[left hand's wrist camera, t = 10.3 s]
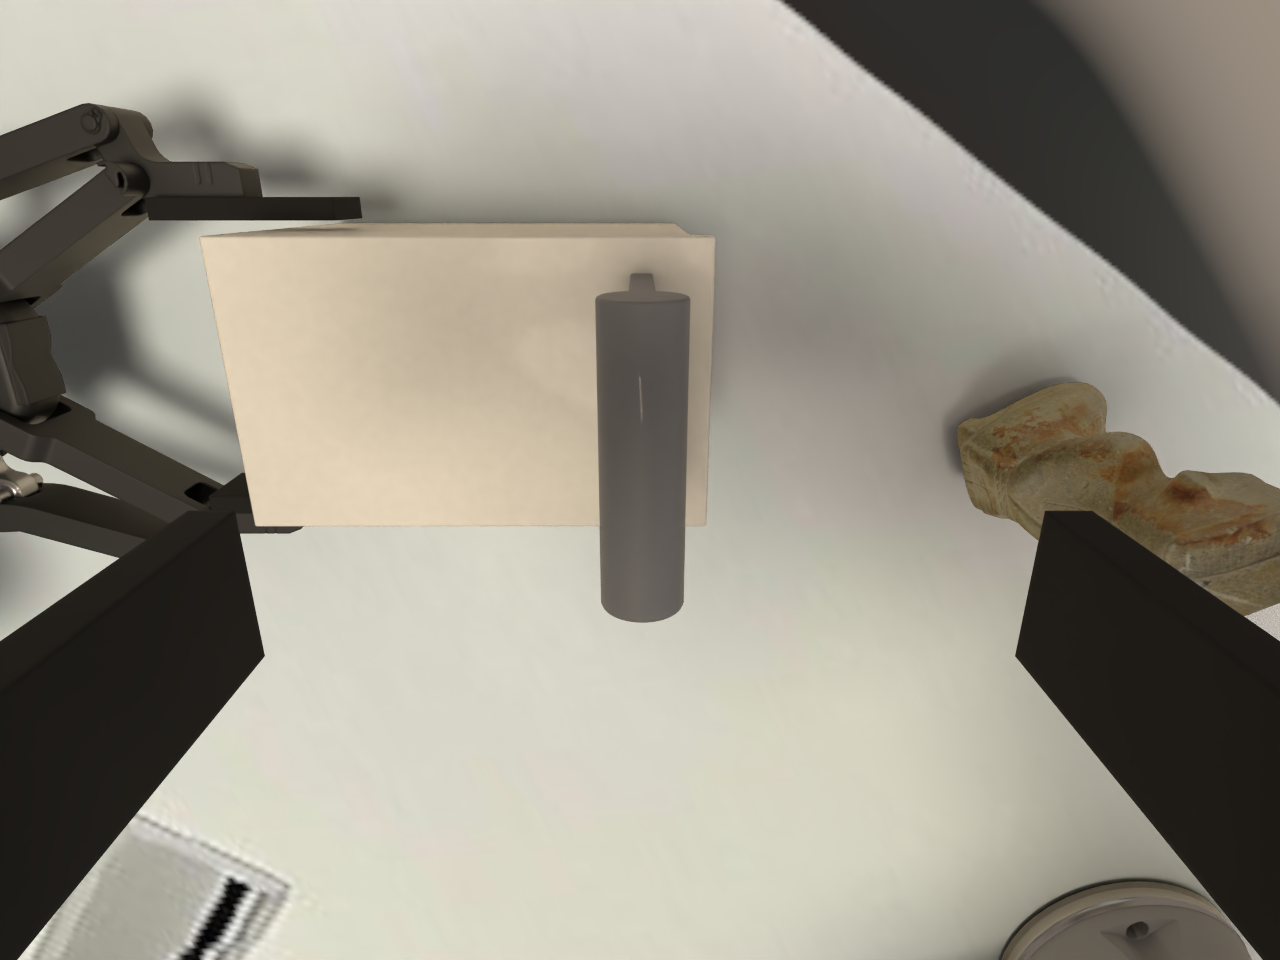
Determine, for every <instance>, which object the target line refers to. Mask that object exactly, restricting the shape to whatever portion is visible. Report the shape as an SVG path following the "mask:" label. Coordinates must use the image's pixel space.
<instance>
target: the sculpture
mask: <svg viewBox="0 0 1280 960" xmlns="http://www.w3.org/2000/svg"><path fill="white" fill-rule="evenodd" d="M1106 413H1107V406H1106V401H1105V398H1104V396H1103V395H1102V393H1101V392H1100V391H1099V390H1097V389H1096V388H1095V387H1093V386H1092V385H1089V384H1086V383H1079V382H1073V383H1062V384H1057V385H1054V386H1050V387H1047V388H1045V389H1042V390H1040V391H1038V392H1035V393H1033V394H1031V395H1029V396H1027V397H1025V398H1023V399H1021V400H1019V401H1017V402H1015V403H1013V404H1011V405H1009V406H1007V407H1006V408H1004V409H1002V410H1000V411H998V412H996V413H994V414H992V415H989V416H987V417H984V418H980V419H978V418H970V419H968V420H966V421H964V422H962V423H961V424H960V425H959V426H958V428H957V440H958V446H959V450H960V451H961V452H960V453H961V462H962V467H963V473H964V478H965V483H966V487H967V490H968V493H969V496H970V499H971V501H972V503H973V505H974V506H975V507H976V508H978V509H980V510H982V511H983V512H984V513H986V514H989V515H992V516H995V517H999V518H1006V519H1011V520H1013V521H1015V522H1017V523H1019V524H1020V525H1021V526H1022V527H1023V528H1024V529H1025V530H1026V531H1027V532H1028V533H1030V534H1031V535H1032V536H1033V537H1035V538H1036V539H1037V540H1038V541H1039V537H1040V532H1041V527H1042V522H1043V517H1044V512H1045V511H1093V512H1095V513H1096V514H1098V515H1099V516H1100V517H1102V518H1103V519H1105V520H1106V521H1108V522H1109V523H1111V524H1112V525H1113V526H1115V527H1116V528H1118V529H1119V530H1121V531H1122V532H1123V533H1125V534H1126V535H1128V536H1129V537H1131V538H1132V539H1134V540H1135V541H1136V542H1138V543H1139V544H1141V545H1142V546H1144V547H1145V548H1146V549H1148V550H1149V551H1151V552H1152V553H1154V554H1155V555H1156V556H1158V557H1159V558H1161V559H1162V560H1164V561H1165V562H1167V563H1168V564H1169V565H1171V566H1172V567H1174V568H1175V569H1177V570H1178V571H1179V572H1181V573H1182V574H1184V575H1185V576H1187V577H1188V578H1189V579H1191V580H1192V581H1194V582H1195V583H1197V584H1198V585H1200V586H1201V587H1202V588H1204V589H1205V590H1207V591H1208V592H1210V593H1211V594H1212V595H1214V596H1215V597H1217V598H1218V599H1220V600H1221V601H1223V602H1224V603H1225V604H1227V605H1228V606H1230V607H1231V608H1233V609H1234V610H1235V611H1237V612H1238V613H1240V614H1241V615H1243V616H1247V615H1249V614H1252V613H1254V612H1257V611H1260V610H1262V609H1265V608H1267V607H1270V606H1273V605H1275V604H1278V603H1280V489H1279V488H1276V487H1274V486H1271V485H1269V484H1267V483H1265V482H1264V481H1262V480H1261V479H1259V478H1257V477H1256V476H1254V475H1252V474H1246V473H1212V474H1211V473H1205V472H1198V471H1188V470H1186V471H1182V472H1180V473H1179V474H1178V475H1177V476H1176V477H1175V478H1168V477H1166V475H1165V474H1164V473H1163V472H1162V469H1161V467H1160V465H1159V462H1158V460H1157V457H1156V454H1155V452H1154V451H1153V449H1152V448H1151V446H1150V445H1149V444H1148V443H1147V442H1146V441H1145V440H1144V439H1142V438H1141V437H1139V436H1136V435H1134V434H1131V433H1126V432H1109V433H1106V432H1105V422H1106Z"/></svg>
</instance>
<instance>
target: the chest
mask: <svg viewBox="0 0 1280 960" xmlns="http://www.w3.org/2000/svg"><path fill="white" fill-rule="evenodd" d="M220 235H689V234H688V233H686V232H685V231H684V230H682V229H681V228H680V227H679V226H677V225H676V224H674V223H339V224H328V225H318V226H307V227H296V228H285V229H274V230H263V231H253V232H242V233H231V234H220Z"/></svg>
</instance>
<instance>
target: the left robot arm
mask: <svg viewBox="0 0 1280 960" xmlns="http://www.w3.org/2000/svg"><path fill="white" fill-rule="evenodd" d="M264 656H265V655H264V650H263V645H262V640H261V635H260V630H259V625H258V621H257V616H256V611H255V606H254V601H253V596H252V591H251V586H250V581H249V576H248V571H247V567H246V562H245V557H244V552H243V547H242V542H241V537H240V532H239V527H238V522H237V517H236V512H235V511H187V512H185V513H184V514H182V515H181V516H180V517H178V518H177V519H175V520H174V521H172V522H171V523H169V524H168V525H167V526H165V527H164V528H162V529H161V530H159V531H158V532H157V533H155V534H154V535H152V536H151V537H149V538H148V539H146V540H145V541H144V542H142V543H141V544H139V545H138V546H136V547H135V548H134V549H132V550H131V551H129V552H128V553H126V554H125V555H124V556H122V557H121V558H119V559H118V560H116V561H115V562H113V563H112V564H111V565H109V566H108V567H106V568H105V569H103V570H102V571H101V572H99V573H98V574H96V575H95V576H93V577H92V578H91V579H89V580H88V581H86V582H85V583H83V584H82V585H80V586H79V587H78V588H76V589H75V590H73V591H72V592H70V593H69V594H68V595H66V596H65V597H63V598H62V599H60V600H59V601H57V602H56V603H55V604H53V605H52V606H50V607H49V608H47V609H46V610H45V611H43V612H42V613H40V614H39V615H37V616H36V617H35V618H33V619H32V620H30V621H29V622H27V623H26V624H24V625H23V626H22V627H20V628H19V629H17V630H16V631H14V632H13V633H12V634H10V635H9V636H7V637H6V638H4V639H3V640H1V641H0V960H17V959H18V958H19V957H20V956H21V954H22V953H23V952H24V951H25V949H26V948H27V947H28V946H29V945H30V943H31V942H32V941H33V940H34V938H35V937H36V936H37V935H38V934H39V932H40V931H41V930H42V929H43V927H44V926H45V925H46V924H47V922H48V921H49V920H50V919H51V918H52V916H53V915H54V914H55V913H56V911H57V910H58V909H59V908H60V907H61V905H62V904H63V903H64V902H65V900H66V899H67V898H68V897H69V895H70V894H71V893H72V892H73V891H74V889H75V888H76V887H77V886H78V884H79V883H80V882H81V881H82V880H83V878H84V877H85V876H86V875H87V873H88V872H89V871H90V870H91V869H92V867H93V866H94V865H95V864H96V862H97V861H98V860H99V859H100V857H101V856H102V855H103V854H104V853H105V851H106V850H107V849H108V848H109V846H110V845H111V844H112V843H113V842H114V840H115V839H116V838H117V837H118V835H119V834H120V833H121V832H122V830H123V829H124V828H125V827H126V826H127V824H128V823H129V822H130V821H131V819H132V818H133V817H134V816H135V815H136V813H137V812H138V811H139V810H140V808H141V807H142V806H143V805H144V804H145V802H146V801H147V800H148V799H149V797H150V796H151V795H152V794H153V792H154V791H155V790H156V789H157V788H158V786H159V785H160V784H161V783H162V781H163V780H164V779H165V778H166V777H167V775H168V774H169V773H170V772H171V770H172V769H173V768H174V767H175V765H176V764H177V763H178V762H179V761H180V759H181V758H182V757H183V756H184V754H185V753H186V752H187V751H188V750H189V748H190V747H191V746H192V745H193V743H194V742H195V741H196V740H197V739H198V737H199V736H200V735H201V734H202V732H203V731H204V730H205V729H206V727H207V726H208V725H209V724H210V723H211V721H212V720H213V719H214V718H215V716H216V715H217V714H218V713H219V712H220V710H221V709H222V708H223V707H224V705H225V704H226V703H227V702H228V700H229V699H230V698H231V697H232V696H233V694H234V693H235V692H236V691H237V689H238V688H239V687H240V686H241V685H242V683H243V682H244V681H245V680H246V678H247V677H248V676H249V675H250V673H251V672H252V671H253V670H254V669H255V667H256V666H257V665H258V664H259V662H260V661H261V660H262V659H263V658H264ZM1015 656H1016V658H1017V659H1018V660H1019V661H1020V662H1021V664H1022V665H1023V666H1024V667H1025V669H1026V670H1027V671H1028V672H1029V673H1030V675H1031V676H1032V677H1033V678H1034V680H1035V681H1036V682H1037V683H1038V685H1039V686H1040V687H1041V688H1042V689H1043V691H1044V692H1045V693H1046V694H1047V696H1048V697H1049V698H1050V699H1051V700H1052V702H1053V703H1054V704H1055V705H1056V707H1057V708H1058V709H1059V710H1060V712H1061V713H1062V714H1063V715H1064V716H1065V718H1066V719H1067V720H1068V721H1069V723H1070V724H1071V725H1072V726H1073V727H1074V729H1075V730H1076V731H1077V732H1078V734H1079V735H1080V736H1081V737H1082V739H1083V740H1084V741H1085V742H1086V743H1087V745H1088V746H1089V747H1090V748H1091V750H1092V751H1093V752H1094V753H1095V754H1096V756H1097V757H1098V758H1099V759H1100V761H1101V762H1102V763H1103V764H1104V765H1105V767H1106V768H1107V769H1108V770H1109V772H1110V773H1111V774H1112V775H1113V777H1114V778H1115V779H1116V780H1117V781H1118V783H1119V784H1120V785H1121V786H1122V788H1123V789H1124V790H1125V791H1126V792H1127V794H1128V795H1129V796H1130V797H1131V799H1132V800H1133V801H1134V802H1135V804H1136V805H1137V806H1138V807H1139V808H1140V810H1141V811H1142V812H1143V813H1144V815H1145V816H1146V817H1147V818H1148V819H1149V821H1150V822H1151V823H1152V824H1153V826H1154V827H1155V828H1156V829H1157V830H1158V832H1159V833H1160V834H1161V835H1162V837H1163V838H1164V839H1165V840H1166V842H1167V843H1168V844H1169V845H1170V846H1171V848H1172V849H1173V850H1174V851H1175V853H1176V854H1177V855H1178V856H1179V857H1180V859H1181V860H1182V861H1183V862H1184V864H1185V865H1186V866H1187V867H1188V869H1189V870H1190V871H1191V872H1192V873H1193V875H1194V876H1195V877H1196V878H1197V880H1198V881H1199V882H1200V883H1201V884H1202V886H1203V887H1204V888H1205V889H1206V891H1207V892H1208V893H1209V894H1210V895H1211V897H1212V898H1213V899H1214V900H1215V902H1216V903H1217V904H1218V905H1219V907H1220V908H1221V909H1222V910H1223V911H1224V913H1225V914H1226V915H1227V916H1228V918H1229V919H1230V920H1231V921H1232V922H1233V924H1234V925H1235V926H1236V927H1237V929H1238V930H1239V931H1240V932H1241V934H1242V935H1243V936H1244V937H1245V938H1246V940H1247V941H1248V942H1249V943H1250V945H1251V946H1252V947H1253V948H1254V949H1255V951H1256V952H1257V953H1258V954H1259V956H1260V957H1261V958H1262V959H1263V960H1280V641H1279V640H1277V639H1276V638H1274V637H1273V636H1271V635H1270V634H1268V633H1267V632H1266V631H1264V630H1263V629H1261V628H1260V627H1258V626H1257V625H1256V624H1254V623H1253V622H1251V621H1250V620H1248V619H1247V618H1245V617H1244V616H1243V615H1241V614H1240V613H1238V612H1237V611H1235V610H1234V609H1233V608H1231V607H1230V606H1228V605H1227V604H1225V603H1224V602H1223V601H1221V600H1220V599H1218V598H1217V597H1215V596H1214V595H1212V594H1211V593H1210V592H1208V591H1207V590H1205V589H1204V588H1202V587H1201V586H1200V585H1198V584H1197V583H1195V582H1194V581H1192V580H1191V579H1189V578H1188V577H1187V576H1185V575H1184V574H1182V573H1181V572H1179V571H1178V570H1177V569H1175V568H1174V567H1172V566H1171V565H1169V564H1168V563H1167V562H1165V561H1164V560H1162V559H1161V558H1159V557H1158V556H1156V555H1155V554H1154V553H1152V552H1151V551H1149V550H1148V549H1146V548H1145V547H1144V546H1142V545H1141V544H1139V543H1138V542H1136V541H1135V540H1134V539H1132V538H1131V537H1129V536H1128V535H1126V534H1125V533H1123V532H1122V531H1121V530H1119V529H1118V528H1116V527H1115V526H1113V525H1112V524H1111V523H1109V522H1108V521H1106V520H1105V519H1103V518H1102V517H1100V516H1099V515H1098V514H1096V513H1095V512H1093V511H1045V512H1044V517H1043V522H1042V527H1041V532H1040V537H1039V542H1038V547H1037V552H1036V557H1035V562H1034V566H1033V571H1032V576H1031V581H1030V586H1029V591H1028V596H1027V601H1026V606H1025V611H1024V616H1023V621H1022V625H1021V630H1020V635H1019V640H1018V645H1017V650H1016V655H1015ZM1001 960H1252V959H1251V957H1250V955H1249V953H1248V951H1247V949H1246V946H1245V944H1244V942H1243V941H1242V939H1241V938H1240V936H1239V935H1238V934H1237V933H1236V931H1235V930H1234V929H1233V928H1232V926H1231V925H1230V924H1229V923H1228V922H1227V920H1226V919H1225V918H1224V917H1223V915H1222V914H1221V913H1220V912H1219V911H1218V910H1217V908H1216V907H1215V906H1214V905H1212V904H1211V903H1210V902H1209V901H1208V900H1206V899H1204V898H1203V897H1201V896H1200V895H1198V894H1196V893H1194V892H1192V891H1189V890H1187V889H1184V888H1181V887H1178V886H1174V885H1170V884H1164V883H1158V882H1142V881H1136V882H1121V883H1113V884H1108V885H1103V886H1098V887H1095V888H1091V889H1088V890H1084V891H1081V892H1079V893H1076V894H1073V895H1071V896H1069V897H1066V898H1064V899H1062V900H1060V901H1058V902H1056V903H1055V904H1053V905H1051V906H1049V907H1048V908H1046V909H1045V910H1043V911H1042V912H1040V913H1039V914H1037V915H1036V916H1035V917H1034V918H1032V919H1031V920H1030V921H1029V922H1028V923H1026V924H1025V925H1024V926H1023V927H1022V928H1021V929H1020V930H1019V932H1018V933H1017V934H1016V935H1015V936H1014V938H1013V939H1012V940H1011V942H1010V943H1009V945H1008V946H1007V948H1006V950H1005V952H1004V954H1003V956H1002V959H1001Z"/></svg>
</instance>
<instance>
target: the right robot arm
mask: <svg viewBox="0 0 1280 960" xmlns="http://www.w3.org/2000/svg"><path fill="white" fill-rule="evenodd" d="M152 137H153V129H152V126H151V123H150V122H149V120H148V119H147V117H145V116H144V115H143V114H141V113H140V112H136V111H132V110H126V109H120V108H114V107H108V106H103V105H97V104H91V103H86V104H81V105H78V106H76V107H73V108H71V109H68V110H65V111H63V112H60V113H58V114H55V115H52V116H50V117H47V118H45V119H42V120H40V121H37V122H34V123H32V124H29V125H27V126H24V127H21V128H19V129H16V130H14V131H11V132H9V133H6V134H3V135H1V136H0V200H2V199H5V198H8V197H10V196H13V195H16V194H18V193H21V192H24V191H26V190H29V189H32V188H34V187H37V186H40V185H42V184H45V183H47V182H50V181H53V180H55V179H58V178H61V177H63V176H66V175H69V174H71V173H74V172H77V171H79V170H82V169H85V168H87V167H90V166H93V165H95V164H97V165H98V166H104V167H106V168H105V169H104V170H103V171H101V172H100V173H99V174H97V175H96V176H95V177H94V178H92V179H91V180H90V181H89V182H87V183H86V184H85V185H83V186H82V187H81V188H80V189H78V190H77V191H76V192H74V193H73V194H72V195H71V196H69V197H68V198H67V199H65V200H64V201H63V202H62V203H60V204H59V205H58V206H56V207H55V208H54V209H53V210H51V211H50V212H49V213H48V214H46V215H45V216H44V217H42V218H41V219H40V220H39V221H37V222H36V223H35V224H33V225H32V226H31V227H30V228H28V229H27V230H26V231H24V232H23V233H22V234H21V235H19V236H18V237H17V238H15V239H14V240H13V241H12V242H10V243H9V244H8V245H6V246H5V247H4V248H3V249H1V250H0V532H17V531H21V532H24V533H28V534H32V535H36V536H39V537H43V538H47V539H51V540H54V541H58V542H62V543H66V544H69V545H73V546H77V547H81V548H84V549H88V550H92V551H96V552H99V553H103V554H107V555H111V556H114V557H118V558H121V557H122V556H124V555H125V554H126V553H128V552H129V551H131V550H132V549H134V548H135V547H136V546H138V545H139V544H141V543H142V542H144V541H145V540H146V539H148V538H149V537H151V536H152V535H154V534H155V533H157V532H158V531H159V530H161V529H162V528H164V527H165V526H167V525H168V524H169V523H171V522H172V521H174V520H175V519H177V518H178V517H180V516H181V515H182V514H184V513H185V512H187V511H235V512H236V517H237V522H238V527H239V532H240V533H292V532H294V531H297V530H300V529H301V528H302V527H303V526H256V525H255V521H254V516H253V511H252V506H251V501H250V496H249V490H248V485H247V480H246V475H245V473H241V474H240V475H238V476H237V477H236V478H234V479H233V480H231V481H230V482H228V483H227V484H226V485H222V484H220V483H218V482H216V481H214V480H212V479H210V478H208V477H206V476H204V475H202V474H200V473H198V472H196V471H194V470H192V469H190V468H188V467H186V466H184V465H183V464H181V463H179V462H177V461H175V460H173V459H171V458H169V457H167V456H165V455H163V454H161V453H159V452H157V451H155V450H153V449H151V448H149V447H147V446H145V445H143V444H141V443H139V442H137V441H136V440H134V439H132V438H130V437H128V436H126V435H124V434H122V433H120V432H118V431H116V430H114V429H112V428H110V427H108V426H106V425H104V424H102V423H100V422H99V421H97V420H96V419H95V414H94V412H92V411H91V410H89V409H87V408H85V407H83V406H81V405H79V404H78V403H76V402H74V401H72V400H70V399H68V398H66V397H64V396H62V395H60V394H63V393H66V389H65V386H64V382H63V378H62V375H61V373H60V371H59V369H58V367H57V365H56V363H55V362H54V360H53V358H52V356H51V334H50V331H49V327H48V323H47V320H46V316H38V315H37V313H36V312H35V310H34V308H35V307H36V306H38V305H39V304H40V303H42V302H43V301H44V300H46V299H47V298H48V297H50V296H51V295H52V294H54V293H55V292H56V291H58V290H59V289H60V288H61V286H62V285H61V282H62V281H64V280H65V279H66V278H68V277H69V276H70V275H72V274H73V273H74V272H76V271H77V270H78V269H80V268H81V267H82V266H84V265H85V264H86V263H88V262H89V261H90V260H92V259H93V258H94V257H95V256H97V255H98V254H99V253H101V252H102V251H103V250H105V249H106V248H107V247H109V246H110V245H111V244H113V243H114V242H115V241H117V240H118V239H119V238H121V237H122V236H123V235H125V234H126V233H127V232H129V231H130V230H131V229H133V228H134V227H135V226H137V225H138V224H139V223H141V222H142V221H143V220H145V219H146V218H147V217H149V220H345V219H358V218H362V213H361V205H360V197H263V196H262V190H261V184H260V178H259V172H258V169H256V168H253V167H251V166H248V165H246V164H244V163H232V162H171V161H169V160H167V159H166V158H164V157H163V156H162V155H161V154H160V153H159V151H158V150H157V148H156V147H155V145H154V143H153V141H152ZM7 453H9V454H11V455H13V456H15V457H17V458H19V459H22V460H24V461H29V462H44V463H47V464H50V465H52V466H54V467H56V468H58V469H60V470H62V471H64V472H66V473H68V474H70V475H72V476H74V477H76V478H78V479H80V480H82V481H84V482H86V483H88V484H90V485H92V486H94V487H96V488H98V489H100V490H102V491H104V492H106V493H108V494H110V495H112V496H114V497H116V498H113V497H109V496H106V495H102V494H98V493H95V492H91V491H87V490H84V489H80V488H77V487H72V486H68V485H62V484H54V483H43V478H42V477H41V476H40V475H39V474H37V473H31V474H27V473H24V472H19V471H15V470H13V469H11V468H10V467H9V466H8V465H7V464H6V463H5V462H4V460H3V458H2V456H4V455H5V454H7ZM117 498H118V499H117Z"/></svg>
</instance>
